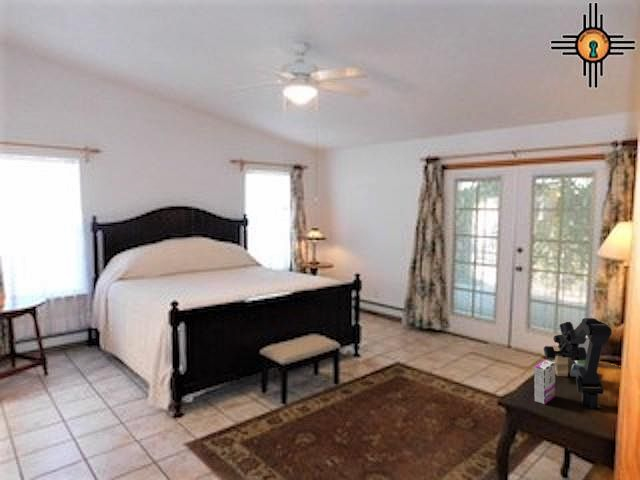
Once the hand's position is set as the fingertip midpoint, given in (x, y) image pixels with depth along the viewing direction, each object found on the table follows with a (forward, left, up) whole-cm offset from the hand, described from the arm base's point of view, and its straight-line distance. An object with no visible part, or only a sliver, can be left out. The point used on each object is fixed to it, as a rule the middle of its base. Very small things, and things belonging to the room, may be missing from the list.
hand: (560, 359), depth 220 cm
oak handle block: (-1, 0, -7) cm, 7 cm away
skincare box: (+12, -19, -7) cm, 24 cm away
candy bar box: (-27, +22, -7) cm, 35 cm away
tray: (-3, -10, -7) cm, 13 cm away
